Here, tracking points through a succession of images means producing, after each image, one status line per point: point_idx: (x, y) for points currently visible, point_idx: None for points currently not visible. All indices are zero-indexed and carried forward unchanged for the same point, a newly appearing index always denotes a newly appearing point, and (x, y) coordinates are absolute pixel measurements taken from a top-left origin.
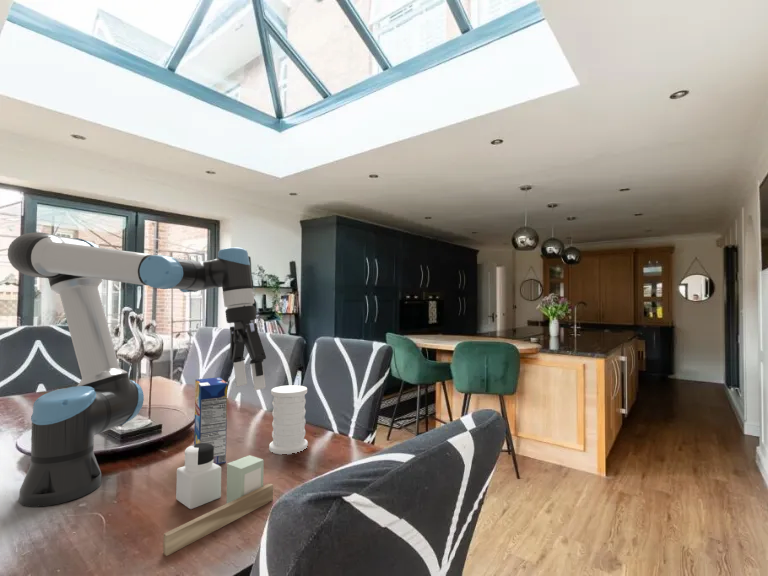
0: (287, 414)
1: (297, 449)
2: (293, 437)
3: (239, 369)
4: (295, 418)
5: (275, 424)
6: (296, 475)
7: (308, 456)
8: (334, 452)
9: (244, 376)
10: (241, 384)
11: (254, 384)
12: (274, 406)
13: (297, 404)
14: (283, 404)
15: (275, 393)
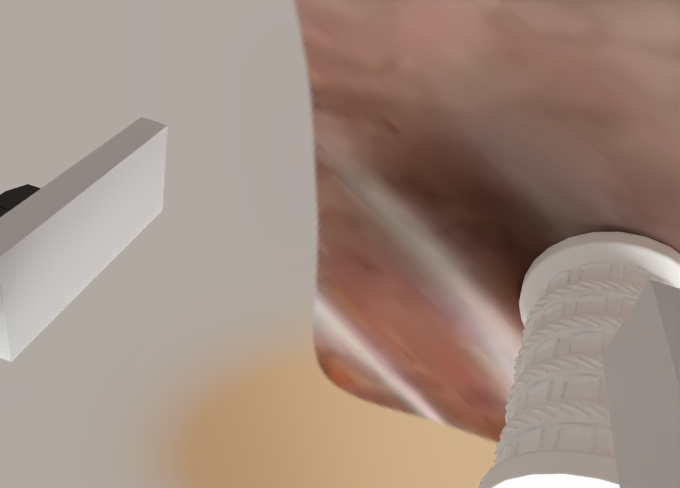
0: (543, 381)
1: (524, 281)
2: (534, 310)
3: (657, 451)
4: (516, 380)
5: None
6: (360, 115)
7: (460, 262)
8: (409, 322)
9: (620, 408)
10: (630, 323)
11: (112, 138)
12: None
13: (498, 442)
14: (554, 417)
15: (609, 473)
